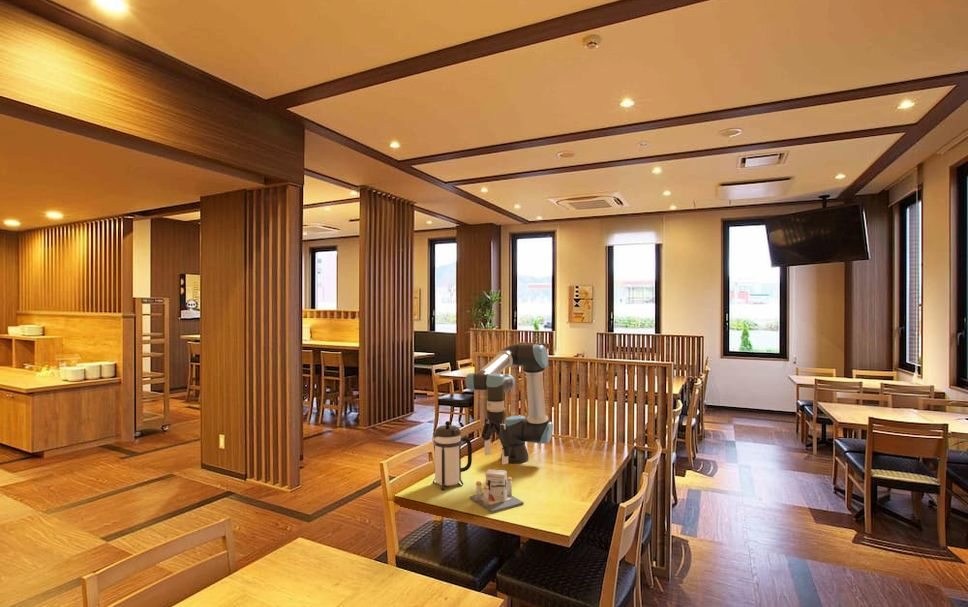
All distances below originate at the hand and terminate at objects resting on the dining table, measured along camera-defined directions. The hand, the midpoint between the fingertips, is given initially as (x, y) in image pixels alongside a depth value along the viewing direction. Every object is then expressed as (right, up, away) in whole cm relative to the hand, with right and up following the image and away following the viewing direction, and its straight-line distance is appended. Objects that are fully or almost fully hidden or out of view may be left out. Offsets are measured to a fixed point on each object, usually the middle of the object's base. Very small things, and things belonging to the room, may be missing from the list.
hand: (496, 459), depth 211 cm
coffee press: (-21, -19, +21) cm, 35 cm away
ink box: (0, -17, 0) cm, 17 cm away
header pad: (0, -18, 0) cm, 18 cm away
